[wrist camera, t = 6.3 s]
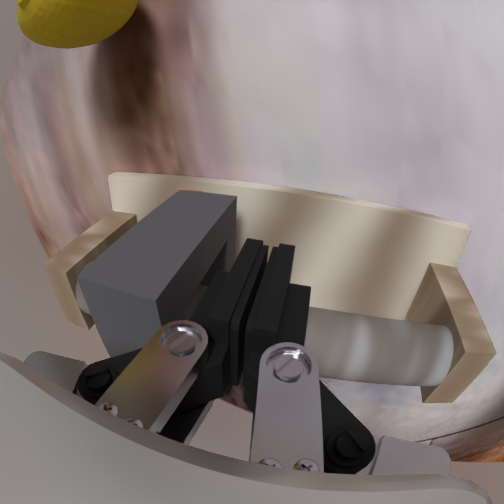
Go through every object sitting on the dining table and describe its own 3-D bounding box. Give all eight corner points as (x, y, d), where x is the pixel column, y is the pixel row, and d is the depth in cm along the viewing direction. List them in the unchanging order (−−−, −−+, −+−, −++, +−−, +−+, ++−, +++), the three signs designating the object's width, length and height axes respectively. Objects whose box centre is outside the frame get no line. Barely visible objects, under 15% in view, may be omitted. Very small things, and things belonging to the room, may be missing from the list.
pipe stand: (465, 224, 13) (527, 311, 7) (415, 334, 18) (429, 425, 11) (115, 172, 17) (28, 223, 10) (134, 281, 22) (79, 347, 15)
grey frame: (237, 196, 13) (155, 300, 7) (234, 328, 18) (192, 430, 12) (179, 189, 14) (76, 276, 8) (191, 318, 19) (140, 411, 12)
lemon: (129, 63, 13) (16, 71, 6) (82, 31, 12) (-17, 36, 5) (183, -11, 10) (83, -54, 3) (126, -35, 9) (32, -60, 2)
